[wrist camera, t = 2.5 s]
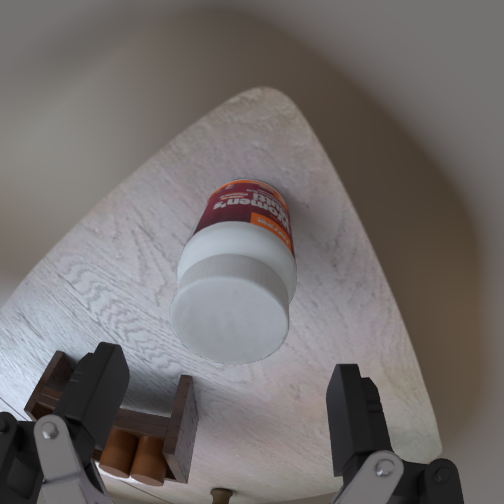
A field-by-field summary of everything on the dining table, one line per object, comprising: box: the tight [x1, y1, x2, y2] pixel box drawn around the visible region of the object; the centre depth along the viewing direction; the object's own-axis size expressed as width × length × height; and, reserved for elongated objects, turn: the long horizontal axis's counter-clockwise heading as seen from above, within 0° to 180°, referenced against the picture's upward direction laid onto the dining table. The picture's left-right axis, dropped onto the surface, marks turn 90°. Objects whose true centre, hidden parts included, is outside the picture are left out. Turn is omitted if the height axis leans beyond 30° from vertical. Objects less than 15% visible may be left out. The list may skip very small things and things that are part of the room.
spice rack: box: [24, 351, 199, 486], centre depth 30 cm, size 10×18×12 cm, turn 87°
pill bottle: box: [170, 179, 297, 364], centre depth 18 cm, size 6×6×11 cm
